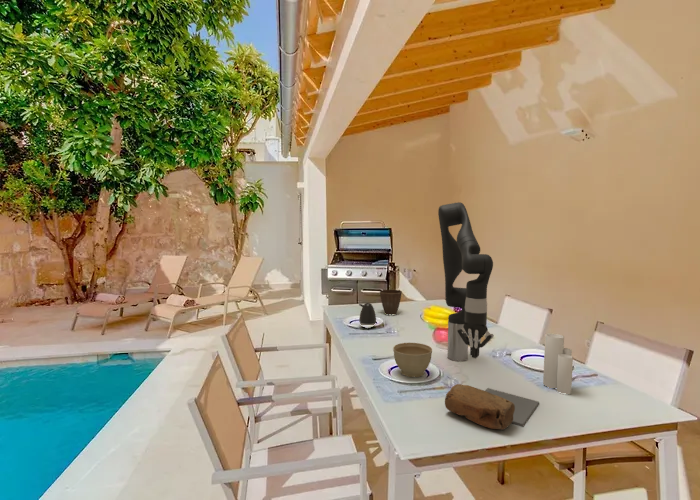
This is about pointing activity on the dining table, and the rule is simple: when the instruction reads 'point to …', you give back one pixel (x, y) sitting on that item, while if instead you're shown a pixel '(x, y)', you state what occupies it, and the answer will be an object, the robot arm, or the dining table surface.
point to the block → (480, 406)
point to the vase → (557, 364)
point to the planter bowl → (412, 358)
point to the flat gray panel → (518, 406)
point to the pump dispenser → (367, 314)
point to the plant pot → (390, 300)
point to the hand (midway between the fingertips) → (474, 357)
